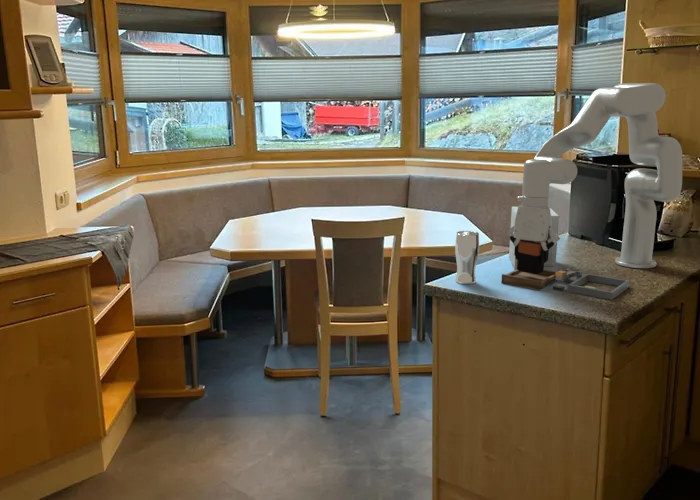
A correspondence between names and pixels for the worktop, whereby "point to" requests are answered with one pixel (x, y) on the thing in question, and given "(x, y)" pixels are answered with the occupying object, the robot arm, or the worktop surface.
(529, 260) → the battery
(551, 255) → the supplement box
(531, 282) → the wooden tray
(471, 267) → the beer glass
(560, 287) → the key mount
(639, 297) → the worktop surface
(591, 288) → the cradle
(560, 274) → the release key
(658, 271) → the worktop surface
